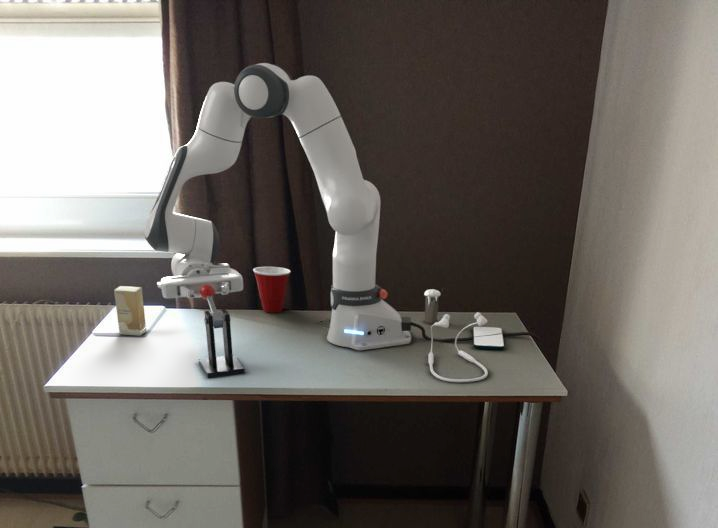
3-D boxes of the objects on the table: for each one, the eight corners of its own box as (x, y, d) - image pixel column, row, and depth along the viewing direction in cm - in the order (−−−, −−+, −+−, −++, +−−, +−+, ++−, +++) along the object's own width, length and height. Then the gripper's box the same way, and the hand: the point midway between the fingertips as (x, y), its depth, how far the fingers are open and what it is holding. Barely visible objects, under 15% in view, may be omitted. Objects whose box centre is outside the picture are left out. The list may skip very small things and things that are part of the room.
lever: (198, 293, 184) (198, 281, 181) (212, 292, 185) (213, 280, 182) (211, 330, 177) (211, 319, 175) (226, 329, 179) (226, 317, 176)
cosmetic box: (119, 334, 204) (112, 289, 198) (125, 329, 208) (119, 285, 202) (141, 336, 204) (135, 291, 197) (147, 331, 207) (141, 286, 201)
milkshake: (440, 325, 212) (443, 289, 207) (421, 323, 213) (423, 288, 208) (442, 320, 216) (444, 285, 211) (423, 319, 217) (425, 284, 212)
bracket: (198, 363, 186) (193, 308, 179) (234, 359, 189) (230, 304, 182) (207, 378, 178) (202, 321, 171) (244, 373, 181) (240, 316, 174)
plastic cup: (299, 309, 225) (298, 268, 219) (273, 317, 218) (271, 275, 212) (273, 302, 231) (271, 262, 225) (247, 310, 224) (245, 269, 218)
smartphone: (472, 329, 209) (473, 348, 195) (472, 326, 209) (473, 345, 195) (501, 331, 208) (504, 350, 195) (502, 327, 208) (504, 346, 194)
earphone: (467, 335, 193) (490, 306, 175) (476, 397, 191) (500, 374, 173) (416, 338, 191) (434, 309, 173) (424, 401, 189) (443, 378, 171)
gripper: (153, 270, 188) (163, 284, 177) (234, 262, 194) (248, 275, 183) (157, 295, 191) (166, 310, 180) (235, 287, 197) (249, 301, 186)
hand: (208, 293), depth 182 cm, fingers open, 7 cm apart
